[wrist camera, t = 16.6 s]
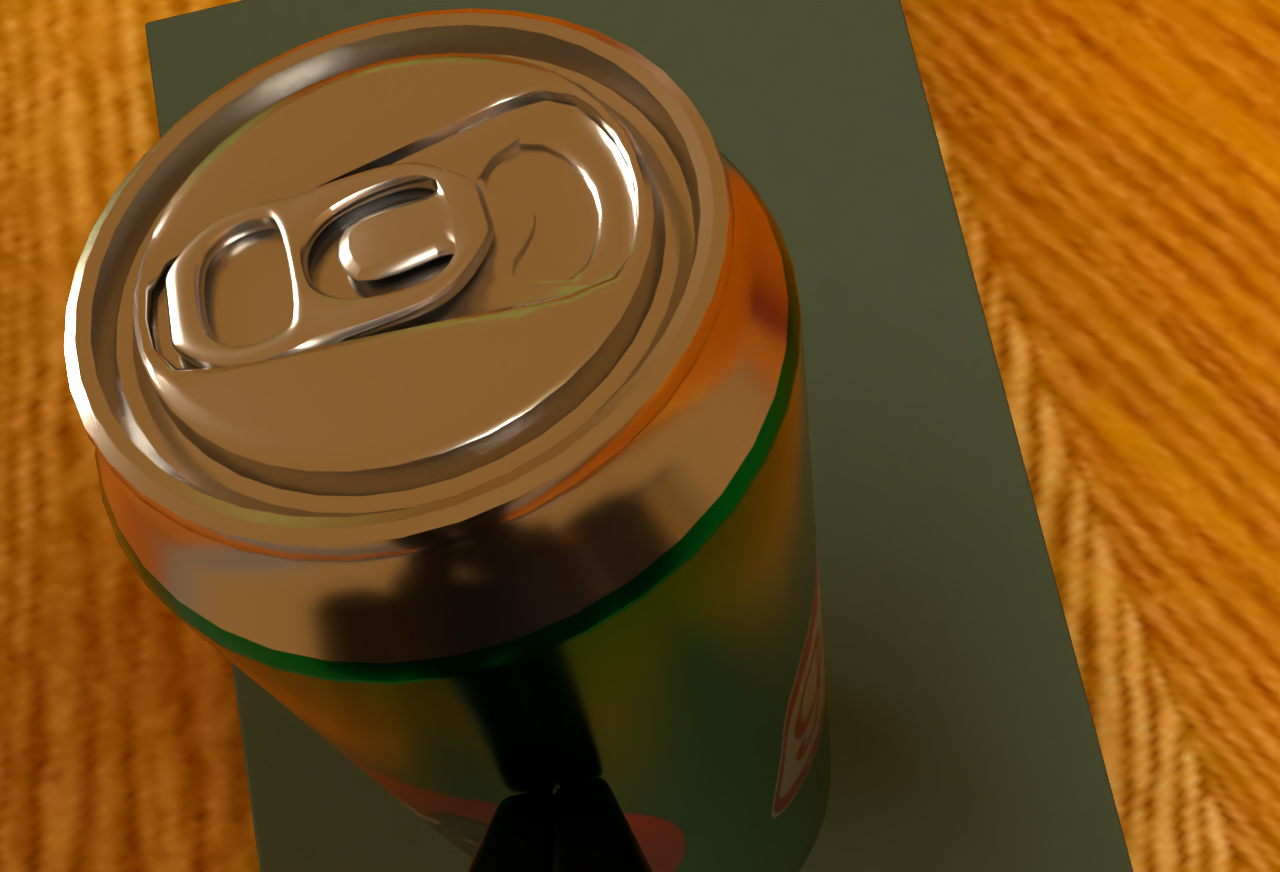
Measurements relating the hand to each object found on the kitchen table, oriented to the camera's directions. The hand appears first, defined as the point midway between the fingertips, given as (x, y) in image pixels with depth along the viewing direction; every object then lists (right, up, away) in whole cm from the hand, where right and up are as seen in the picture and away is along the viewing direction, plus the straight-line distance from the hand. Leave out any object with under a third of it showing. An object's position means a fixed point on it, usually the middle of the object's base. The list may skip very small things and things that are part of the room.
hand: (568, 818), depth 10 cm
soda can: (+1, -2, +8) cm, 9 cm away
